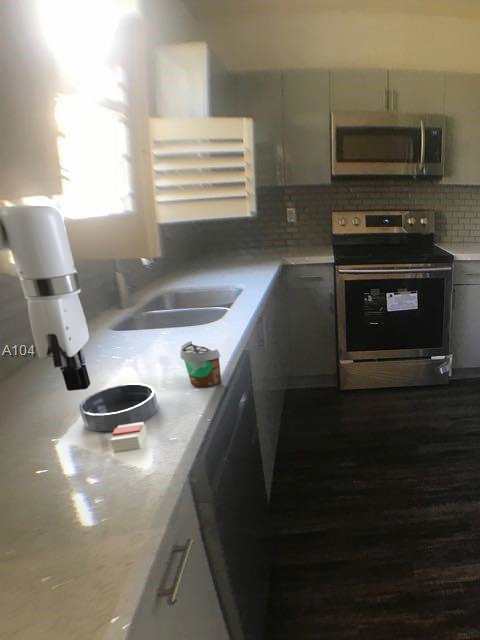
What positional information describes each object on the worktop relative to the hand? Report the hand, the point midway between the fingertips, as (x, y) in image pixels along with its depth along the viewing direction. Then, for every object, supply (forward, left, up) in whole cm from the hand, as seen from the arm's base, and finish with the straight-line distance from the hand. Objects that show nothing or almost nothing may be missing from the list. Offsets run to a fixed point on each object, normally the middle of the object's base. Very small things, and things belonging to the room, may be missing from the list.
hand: (79, 387), depth 80 cm
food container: (+15, +33, -17) cm, 40 cm away
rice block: (+3, +9, -17) cm, 19 cm away
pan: (-1, +21, -17) cm, 27 cm away
